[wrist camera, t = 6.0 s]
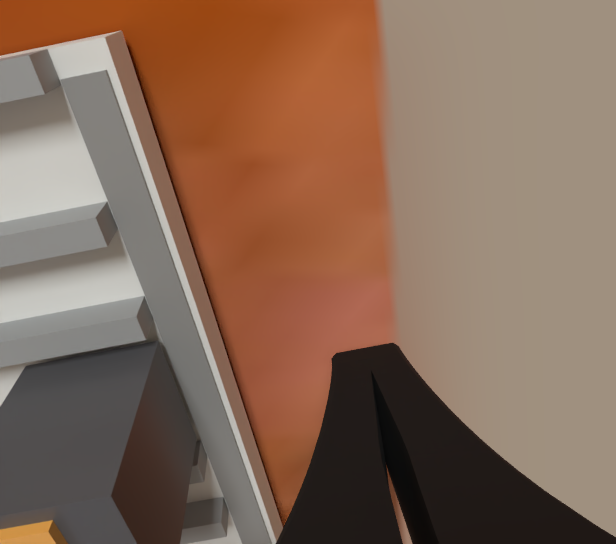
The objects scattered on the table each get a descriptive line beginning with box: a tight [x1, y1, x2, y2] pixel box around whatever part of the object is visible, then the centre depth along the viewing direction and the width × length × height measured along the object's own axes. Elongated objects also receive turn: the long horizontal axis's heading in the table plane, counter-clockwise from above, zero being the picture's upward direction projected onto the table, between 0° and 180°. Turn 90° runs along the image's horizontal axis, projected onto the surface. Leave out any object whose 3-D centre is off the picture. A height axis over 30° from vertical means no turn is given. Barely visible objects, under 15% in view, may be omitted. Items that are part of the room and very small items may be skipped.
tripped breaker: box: [0, 341, 197, 544], centre depth 11 cm, size 3×3×4 cm
